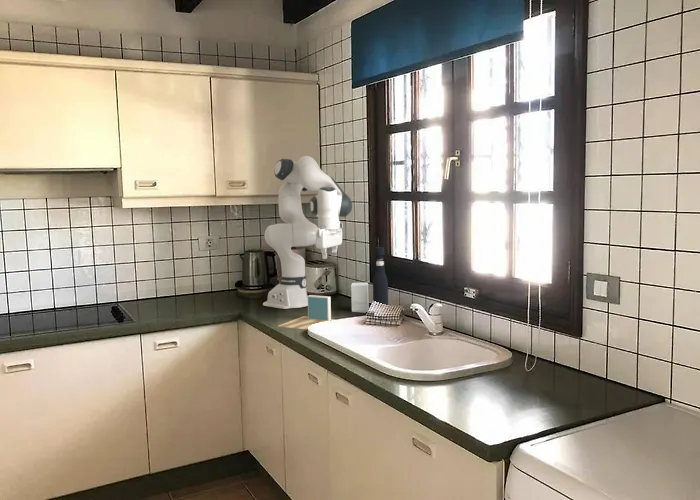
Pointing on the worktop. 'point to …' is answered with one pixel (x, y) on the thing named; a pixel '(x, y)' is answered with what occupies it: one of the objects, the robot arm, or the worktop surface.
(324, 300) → the tile
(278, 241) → the robot arm
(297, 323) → the trivet
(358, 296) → the supplement box
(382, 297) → the navy water bottle
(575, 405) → the worktop surface
